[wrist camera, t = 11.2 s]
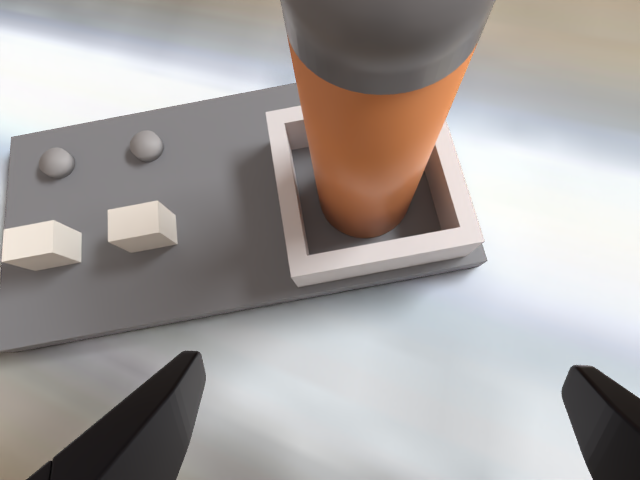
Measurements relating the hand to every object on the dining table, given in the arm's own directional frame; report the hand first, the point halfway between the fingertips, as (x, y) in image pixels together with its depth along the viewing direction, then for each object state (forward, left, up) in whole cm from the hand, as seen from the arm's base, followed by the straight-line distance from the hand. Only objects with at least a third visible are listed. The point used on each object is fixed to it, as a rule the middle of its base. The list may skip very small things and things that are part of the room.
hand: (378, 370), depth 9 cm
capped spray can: (+2, +8, -8) cm, 12 cm away
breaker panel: (-5, +10, -9) cm, 14 cm away
